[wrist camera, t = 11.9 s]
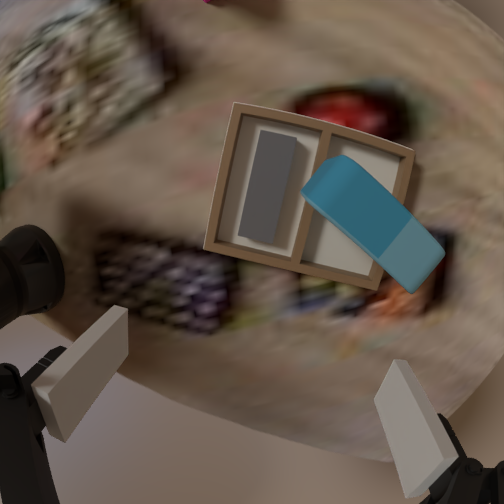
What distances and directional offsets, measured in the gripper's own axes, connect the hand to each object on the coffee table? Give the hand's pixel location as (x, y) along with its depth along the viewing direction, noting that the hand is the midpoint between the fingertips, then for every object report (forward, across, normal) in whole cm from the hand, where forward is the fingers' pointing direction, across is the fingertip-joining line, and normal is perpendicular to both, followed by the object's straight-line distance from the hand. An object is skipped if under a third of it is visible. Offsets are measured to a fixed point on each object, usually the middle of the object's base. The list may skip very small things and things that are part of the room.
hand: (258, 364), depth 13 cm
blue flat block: (+21, +8, +6) cm, 24 cm away
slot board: (+24, +4, +6) cm, 25 cm away
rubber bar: (+23, -2, +7) cm, 24 cm away
